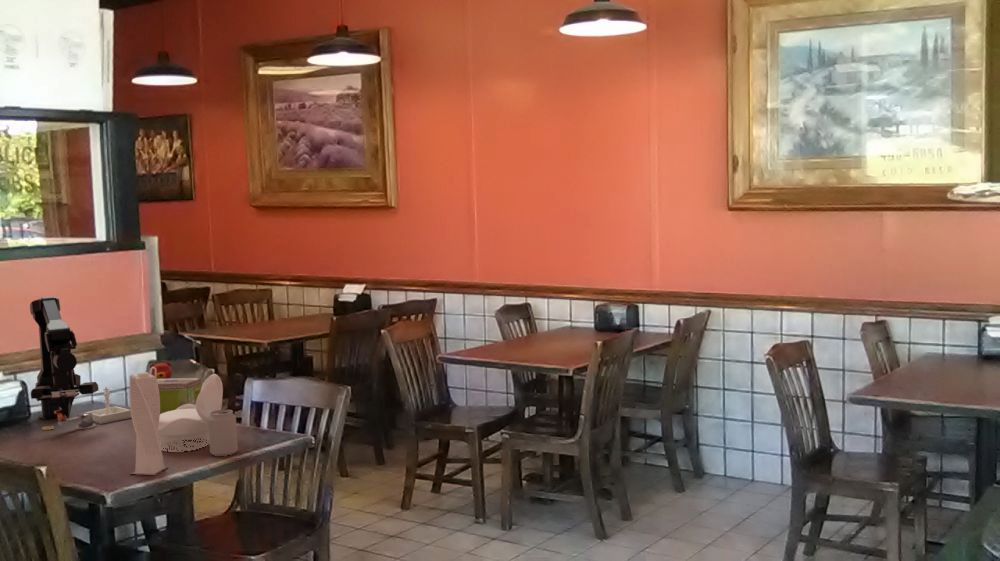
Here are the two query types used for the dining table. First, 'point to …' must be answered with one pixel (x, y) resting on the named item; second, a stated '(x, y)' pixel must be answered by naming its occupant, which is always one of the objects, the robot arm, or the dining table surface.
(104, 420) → the tray
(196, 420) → the chair
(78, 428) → the crank base
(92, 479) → the dining table surface
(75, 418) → the crank
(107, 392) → the chess piece
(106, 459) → the dining table surface
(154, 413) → the skyscraper
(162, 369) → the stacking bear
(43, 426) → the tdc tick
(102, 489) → the dining table surface
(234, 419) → the can
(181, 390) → the tea box
